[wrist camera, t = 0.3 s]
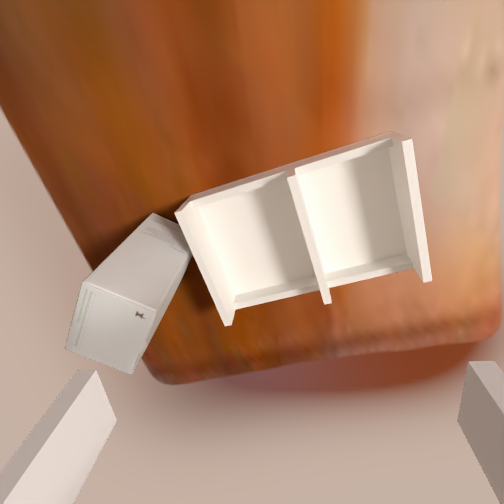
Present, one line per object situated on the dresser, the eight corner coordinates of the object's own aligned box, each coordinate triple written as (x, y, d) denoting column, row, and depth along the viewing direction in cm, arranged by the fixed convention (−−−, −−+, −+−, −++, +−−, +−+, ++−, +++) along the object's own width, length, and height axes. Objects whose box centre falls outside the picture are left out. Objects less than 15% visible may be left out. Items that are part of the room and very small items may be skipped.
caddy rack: (190, 195, 38) (174, 212, 33) (391, 130, 33) (412, 138, 28) (233, 296, 43) (224, 326, 38) (411, 253, 39) (432, 280, 33)
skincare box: (153, 210, 39) (79, 275, 25) (205, 234, 40) (160, 310, 26) (133, 266, 43) (58, 350, 29) (181, 287, 44) (130, 379, 30)
